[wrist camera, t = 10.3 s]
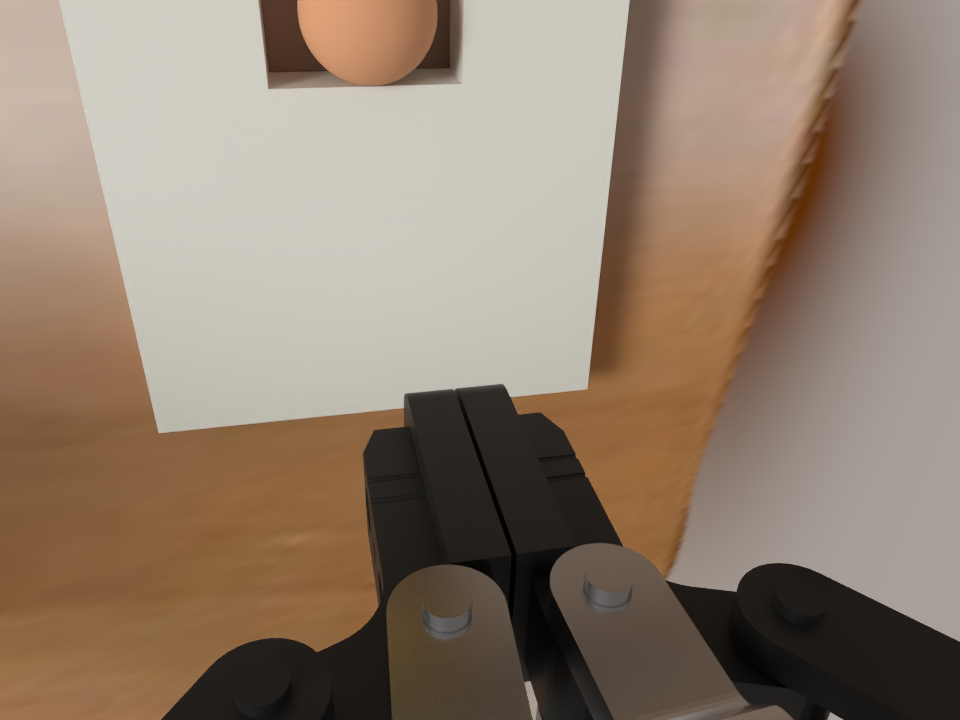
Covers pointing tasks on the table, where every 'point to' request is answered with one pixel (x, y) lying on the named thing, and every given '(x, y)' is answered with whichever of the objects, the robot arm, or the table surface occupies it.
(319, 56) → the ball
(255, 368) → the hole board
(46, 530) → the table surface
